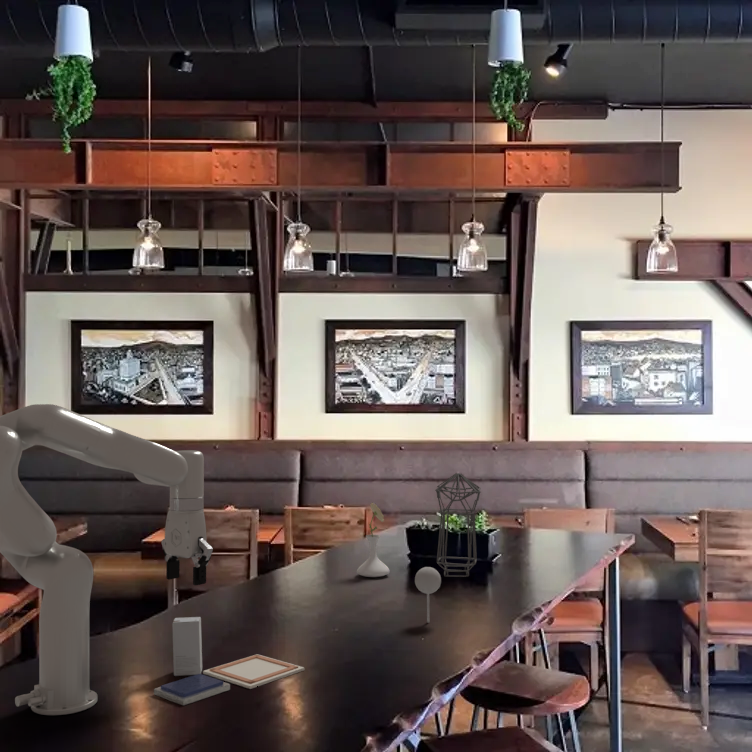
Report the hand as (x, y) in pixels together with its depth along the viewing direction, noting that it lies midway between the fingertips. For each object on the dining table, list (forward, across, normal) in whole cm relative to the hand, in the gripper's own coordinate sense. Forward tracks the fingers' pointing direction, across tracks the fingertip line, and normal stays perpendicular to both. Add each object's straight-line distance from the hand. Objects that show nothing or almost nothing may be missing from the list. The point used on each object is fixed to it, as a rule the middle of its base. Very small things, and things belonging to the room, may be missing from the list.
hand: (186, 581), depth 193 cm
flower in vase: (+19, -35, +105) cm, 113 cm away
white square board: (+20, +12, +10) cm, 25 cm away
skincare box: (+21, +1, 0) cm, 21 cm away
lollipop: (+20, +17, +68) cm, 73 cm away
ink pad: (+20, +12, -7) cm, 24 cm away
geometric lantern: (+19, -13, +125) cm, 127 cm away
